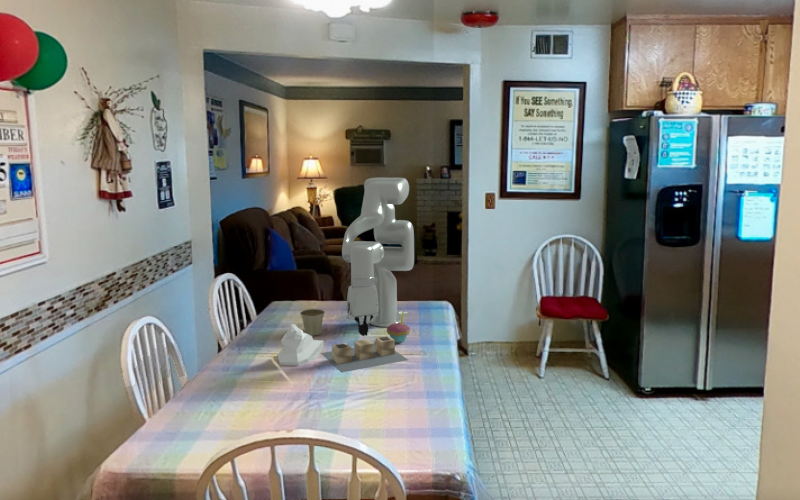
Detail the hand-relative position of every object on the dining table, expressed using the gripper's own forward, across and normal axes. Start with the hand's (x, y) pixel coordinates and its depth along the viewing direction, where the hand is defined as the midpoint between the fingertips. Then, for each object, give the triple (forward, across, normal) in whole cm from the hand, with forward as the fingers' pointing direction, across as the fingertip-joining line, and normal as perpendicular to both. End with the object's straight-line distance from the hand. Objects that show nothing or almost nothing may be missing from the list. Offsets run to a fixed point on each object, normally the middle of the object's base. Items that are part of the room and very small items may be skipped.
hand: (363, 334), depth 198 cm
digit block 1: (+8, +8, 0) cm, 11 cm away
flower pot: (+8, +7, -34) cm, 36 cm away
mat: (+8, 0, 0) cm, 8 cm away
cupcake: (+8, -18, -10) cm, 23 cm away
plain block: (+8, 0, 0) cm, 8 cm away
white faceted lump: (+9, +21, -8) cm, 24 cm away
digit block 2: (+8, -8, 0) cm, 11 cm away
